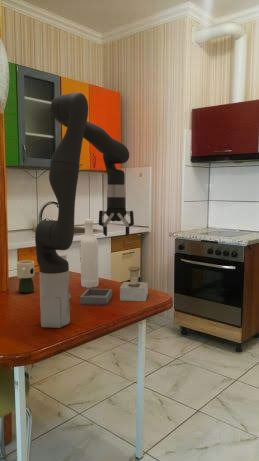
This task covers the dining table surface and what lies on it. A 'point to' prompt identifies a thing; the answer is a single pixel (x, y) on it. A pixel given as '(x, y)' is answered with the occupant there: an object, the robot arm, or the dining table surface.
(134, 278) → the pin
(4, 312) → the dining table surface
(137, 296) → the hitch block
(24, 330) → the dining table surface
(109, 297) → the tray
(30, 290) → the character mug
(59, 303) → the robot arm
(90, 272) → the bottle
